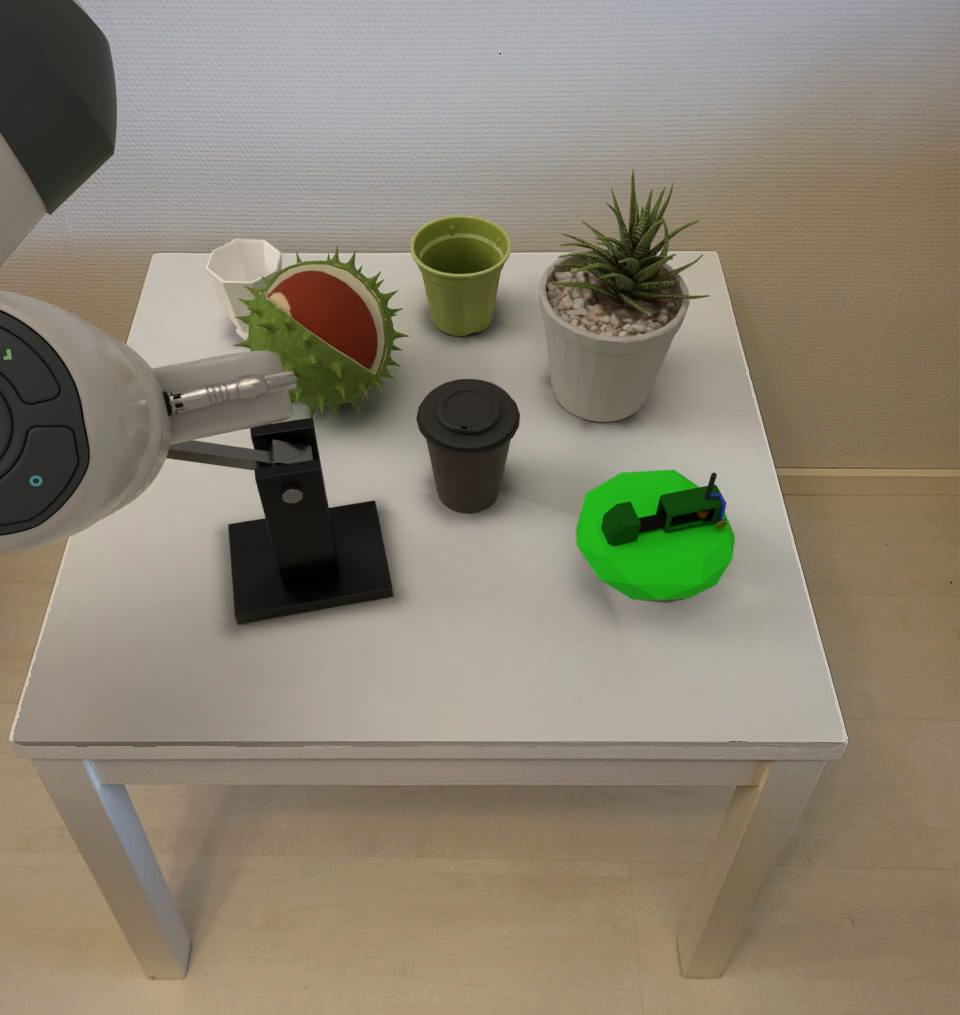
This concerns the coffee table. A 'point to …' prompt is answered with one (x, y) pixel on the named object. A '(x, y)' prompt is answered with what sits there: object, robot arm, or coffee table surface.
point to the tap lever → (240, 454)
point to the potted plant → (613, 315)
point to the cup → (242, 274)
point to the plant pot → (461, 270)
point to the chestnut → (325, 330)
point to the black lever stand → (303, 540)
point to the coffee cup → (468, 441)
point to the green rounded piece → (656, 535)
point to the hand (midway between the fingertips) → (112, 424)
